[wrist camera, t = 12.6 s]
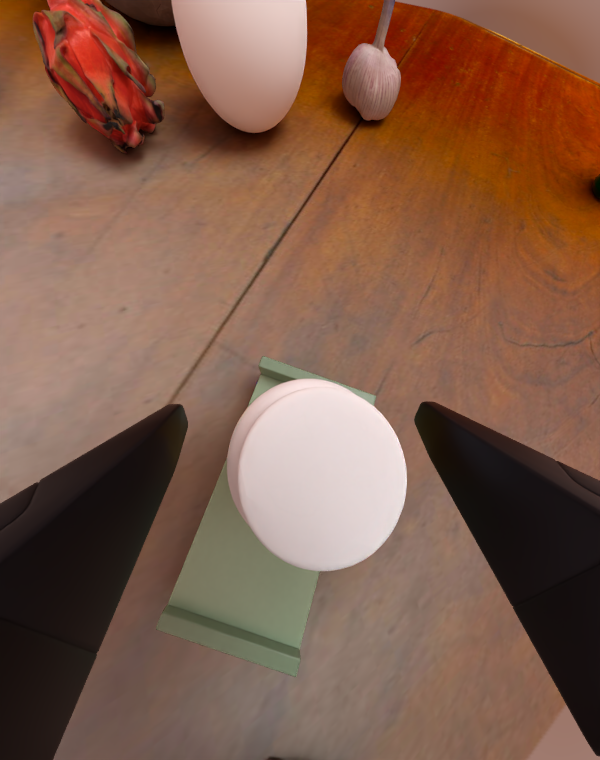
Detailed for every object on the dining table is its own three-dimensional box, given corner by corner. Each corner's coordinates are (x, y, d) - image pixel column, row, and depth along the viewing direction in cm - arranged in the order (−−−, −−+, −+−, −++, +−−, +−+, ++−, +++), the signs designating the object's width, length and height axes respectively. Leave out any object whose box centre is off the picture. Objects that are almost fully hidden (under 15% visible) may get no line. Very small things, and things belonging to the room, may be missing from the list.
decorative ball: (298, 96, 28) (311, -143, 16) (303, 164, 25) (323, -66, 13) (203, 86, 26) (144, -180, 15) (198, 156, 24) (120, -104, 12)
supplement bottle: (330, 401, 16) (417, 350, 6) (338, 482, 14) (471, 600, 4) (253, 406, 15) (200, 359, 5) (255, 491, 14) (191, 652, 4)
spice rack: (292, 619, 15) (298, 712, 10) (184, 582, 15) (137, 657, 10) (351, 404, 19) (376, 395, 14) (267, 374, 19) (262, 355, 14)
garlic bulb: (337, 86, 29) (359, -40, 21) (389, 96, 30) (428, -23, 22) (337, 123, 27) (359, 1, 19) (391, 133, 28) (435, 17, 20)
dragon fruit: (139, 111, 27) (162, 198, 26) (33, 47, 21) (58, 158, 20) (151, 13, 21) (180, 123, 20) (5, -119, 15) (40, 33, 14)
